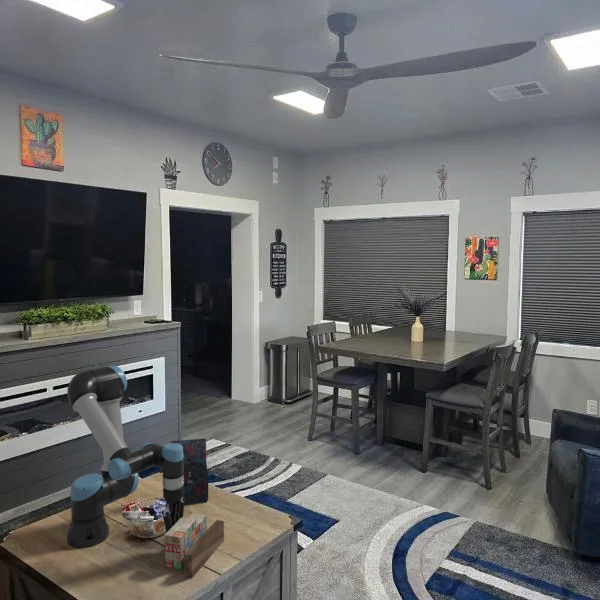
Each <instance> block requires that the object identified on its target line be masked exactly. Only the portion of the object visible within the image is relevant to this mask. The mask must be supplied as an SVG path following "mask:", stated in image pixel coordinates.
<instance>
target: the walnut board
mask: <svg viewBox="0 0 600 600" xmlns="http://www.w3.org/2000/svg"><path fill="white" fill-rule="evenodd" d="M224 541H225V522H224V520H221V519H216V520H215V521H214V522H213V523H212V524H211V525H210V526H209V527H208V528H207V531H206V532H205V533H204V534H203V535H202V536H201V537H200V538H199V539H198V540H197V541H196V542H195V543H194V544H193V545H192V546H191V547H190V549H189V550H188V551H187V552H186V553H185V554H184V566H183V568H184V571H183V572H184V577H186V578H189V579H190V578H191V579H193V578H194V577H195V575H196V574H197V573H198V572H199V571H200V570H201V568H202V567H204V565H205V564H206V562H208V560H209V559H210V558H211V557H212V556H213V555H214V553H215V552H216V551H217V550H218V549H219V547H221V545H222V544H223V543H224Z"/></svg>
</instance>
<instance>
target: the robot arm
mask: <svg viewBox="0 0 600 600" xmlns="http://www.w3.org/2000/svg"><path fill="white" fill-rule="evenodd" d="M127 387H128V380H127V376H126V374H125V372H124V371H123V369H121V368H120V367H119V366H117V365H109V366H102V367H97V368H92V369H89V370H82V371H80V372H78V373H76V374H75V375H74V376H73V377H72V378H71V380H70V381H69V383H68V385H67V391H66V392H67V394H66V395H67V400H68V403H69V405H70V407H71V408H72V410H73V411H74V412H77V413H78V414H79V415H80V417H81V418H82V420H83V422H84V423H85V425H86V426H87V427H88V429H89V430H90V433H91V434H92V435H93V437H94V438H95V440H96V442H97V443H98V445H99V446H100V448H101V449H102V455H103V457H102V458H103V462H104V463H103V465H102V466H101V468H100V472H101V473H96V472H95V473H93V472H92V473H87V474H84V475H82V476H79V477H78V478H77V479H75V480H74V481H73V482H72V484H71V485H70V494H69V496H70V509H71V510H70V512H71V522H70V525H69V528H68V532H67V535H66V537H67V538H66V539H67V544H68V546H71V547H73V548H89V547H93V546H96V545H98V544H100V543H103V542H104V541H105V540H107V538H108V537H109V535H110V527H109V524H108V523H107V519H106V517H105V512H104V511H105V509H104V508H105V506H107V505H109V504H112V503H113V502H116V501H118V500H121V499H123V498H126V497H128V496H129V495H131V494H133V493H134V492H135V491H136V490H137V488H138V486H139V479H140V478H139V476H140V475H139V473H140V472H143V471H146V470H148V469H150V468H152V467H157V468H159V469H162V487H163V489H162V493H163V494H162V495H163V496H162V498H163V499H164V500H165V509H164V510H162V511H161V515H162V517H163V518H162V519H163V523H164V528H165V534H166V533H167V532H168V531H169V530H170V529H171V528H172V527H173V526H174V525H175V524H176V523H177V522H178V520H179V519H180V518H184V512H185V505H184V504H185V500H186V498H184V497H183V496H184V486H183V485H184V475H183V474H184V462H183V458H184V455H183V447H182V445H181V444H178V443H171V442H170V443H166V444H164V445H161V444H158V443H155V442H145V443H143V444H142V445H141V447H140V448H139V449H138V450H135V451H133V452H132V451H131V450H130V448H129V447H128V445H127V444H126V442H125V439H124V438H125V437H124V430H123V429H124V428H123V420H122V413H121V412H122V411H121V405H120V403H121V400H122V398H124V396H123V392H125V391H126V389H127Z"/></svg>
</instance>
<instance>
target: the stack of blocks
mask: <svg viewBox="0 0 600 600" xmlns="http://www.w3.org/2000/svg"><path fill="white" fill-rule="evenodd" d="M207 530H208V521H207V514H201V513H200V514H199V513H191V514H190V515H189V516H188V517H183V518H180V519H179V520H178V522H177V523H176V524H175V525H174V526H173V527H172V528H171V529H170V530H169V531H168V532H167V533H166V532H165V534H164V564H165V565H164V567H165V568H169V569H175V570H179V571H181V570H182V568H184V554H185V553H186V552H187V551H188V550H189V549H190V547H191V546H192V545H193V544H194V543H195V542H196V541H197V540H198V539H199V538H200V537H201V536H202V535H203V534H204V533H205V532H206V531H207Z"/></svg>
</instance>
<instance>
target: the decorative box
mask: <svg viewBox="0 0 600 600" xmlns="http://www.w3.org/2000/svg"><path fill="white" fill-rule="evenodd" d="M170 443H178V444H181V445H182V447H183V455H184V458H183V462H184V474H183V475H184V485H183V486H184V496H183V497H184V498H186V500H185V504H184V506H187V505H194V504H196V505H197V504H204V503H208V500H209V475H208V474H209V473H208V465H207V464H208V462H207V438H195V439H183V440H172V441H170Z"/></svg>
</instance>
